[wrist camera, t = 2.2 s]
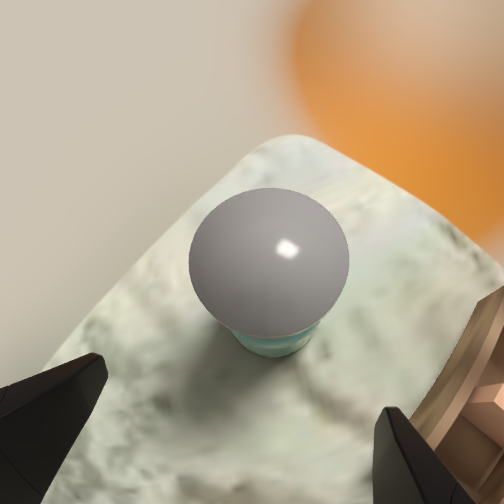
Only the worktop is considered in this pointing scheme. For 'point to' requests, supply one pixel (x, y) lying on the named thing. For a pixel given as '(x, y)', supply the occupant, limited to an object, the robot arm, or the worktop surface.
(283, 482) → the worktop surface
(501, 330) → the small wooden crate
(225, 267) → the teal lidded canister
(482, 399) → the bar
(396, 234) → the worktop surface
